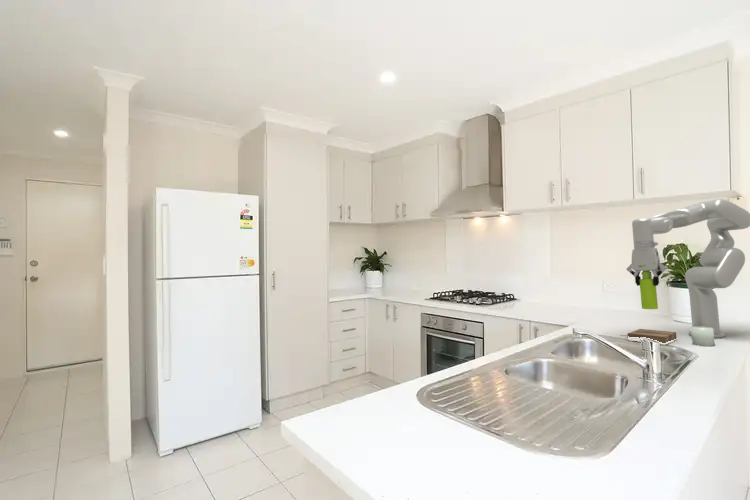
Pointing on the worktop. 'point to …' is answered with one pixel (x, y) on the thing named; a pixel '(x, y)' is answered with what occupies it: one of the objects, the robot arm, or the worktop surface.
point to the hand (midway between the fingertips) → (647, 285)
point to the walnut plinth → (654, 335)
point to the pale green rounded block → (703, 336)
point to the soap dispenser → (648, 291)
